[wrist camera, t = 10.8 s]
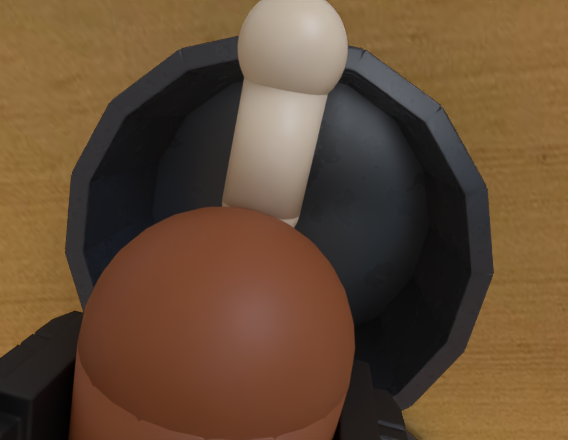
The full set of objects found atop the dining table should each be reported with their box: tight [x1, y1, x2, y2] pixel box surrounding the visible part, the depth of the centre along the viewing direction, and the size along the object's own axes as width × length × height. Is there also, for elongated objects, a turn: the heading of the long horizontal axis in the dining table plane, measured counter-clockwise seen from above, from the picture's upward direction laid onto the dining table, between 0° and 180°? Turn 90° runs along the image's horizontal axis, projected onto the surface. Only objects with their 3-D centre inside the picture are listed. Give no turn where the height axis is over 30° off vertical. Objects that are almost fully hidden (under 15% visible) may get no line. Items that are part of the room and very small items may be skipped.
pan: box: [65, 36, 494, 411], centre depth 20 cm, size 17×17×8 cm
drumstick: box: [68, 0, 355, 440], centre depth 8 cm, size 12×5×5 cm, turn 168°
